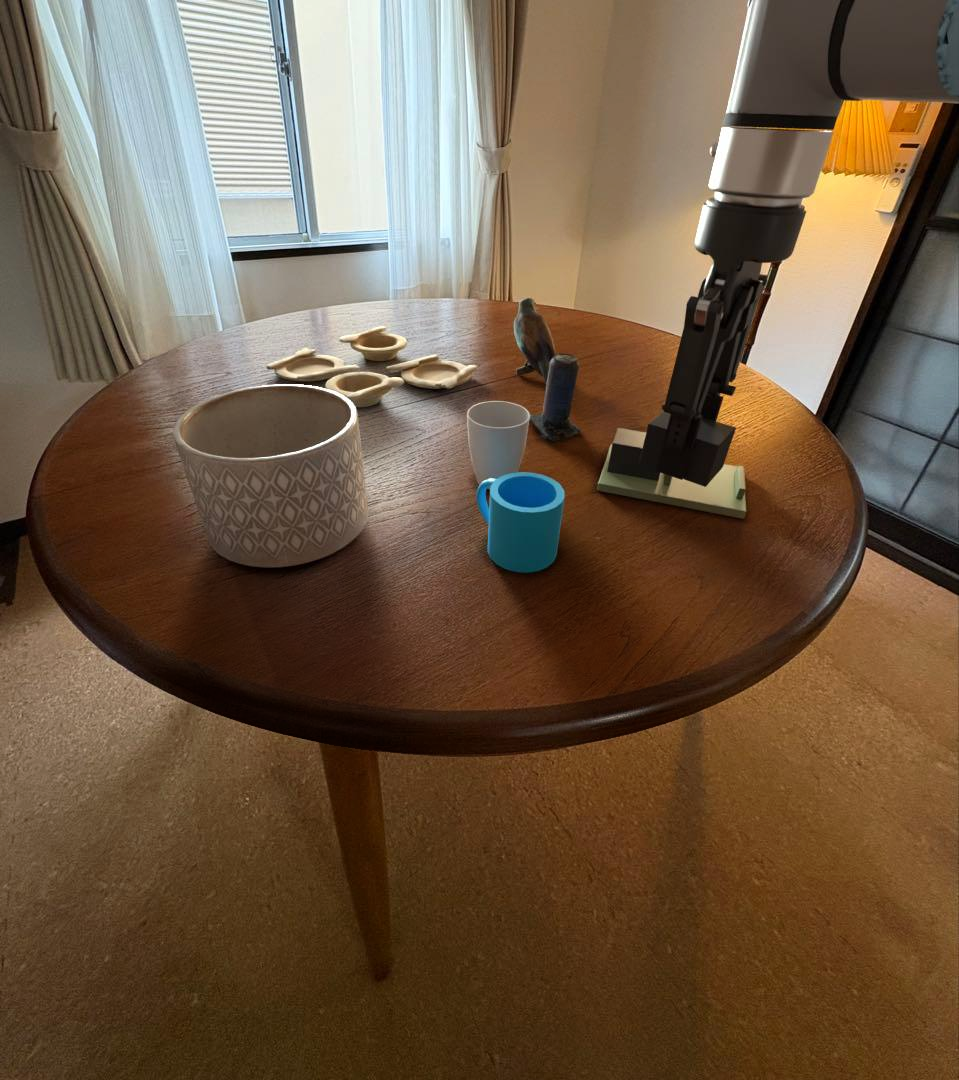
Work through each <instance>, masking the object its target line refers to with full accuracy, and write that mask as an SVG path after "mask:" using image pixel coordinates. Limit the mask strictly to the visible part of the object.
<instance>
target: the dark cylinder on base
mask: <svg viewBox="0 0 959 1080" xmlns="http://www.w3.org/2000/svg"><path fill="white" fill-rule="evenodd" d="M579 369H580V364H579V361H578V356H576V355H573V354H570V353H563V352H562V353H556V354H555V355H554V357H553V358H552V359H551V361H550V365H549V372H548V378H547V385H546V384H545V385H546V386H545V392H544V400H543V406H542V412H541V413H538V414H537V413H536V414H530V419H529V424H532V425H533V426H535V428H536V429H537V431H538V432H539V434H541V435H540V437H541V439H543V440H546V439H547V440H548V441H552V443H553V442H556V441H558V440H561V438H562V436H560V434H559V433H561V434H564V436H565V437H572V436H574V435H575V434H576V435H577V434H580V433H581V429H580V428H579V425H576V424H575V422H573V421H572V420H571V419H570V415H571V411H572V407H573V402H574V397H575V391H576V386H577V379H578V373H579Z"/></svg>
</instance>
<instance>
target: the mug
mask: <svg viewBox="0 0 959 1080" xmlns="http://www.w3.org/2000/svg"><path fill="white" fill-rule="evenodd" d="M489 486H491V487H490V489H489V505H488V502H487V496H486V493H487V490H488V489H487V488H488V487H489ZM565 494H566V493H565V489H564V488H563V487H562V485H561V484H560V482H558V481H556V480H555V479H554V478H552V477H549V476H546V475H545V474H541V473H537V472H531V471H530V472H529V471H528V472H527V471H518V473H510V474H507V475H504V476H501V477H499V478H498V479H494V478H490V479H488V480H485V481H483V482H482V483H481V484H480V485H478V487H477V489H476V495H475V497H476V504H477V507H478V510H479V512H480V514H481V516H482V518H483V519H484V521H485V522H486V523H487V524H488V529H487V530H488V531H487V554H488V555H489V558H490V559H491V560H492V561H493V563H495V564H496V565H497V566H499V567H501V568H503V569H505V570H508V571H511V572H515V573H526V574H528V573H534V572H535V573H536V572H539V571H542V570H544V569H547V568H548V567H549V566H551V565H552V564H553V563H554V562H555V561H556V557H557V555H558V548H559V540H560V535H561V534H560V533H561V526H562V520H563V513H564V512H563V511H564V505H565V497H566V495H565Z"/></svg>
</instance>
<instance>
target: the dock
mask: <svg viewBox="0 0 959 1080" xmlns="http://www.w3.org/2000/svg"><path fill="white" fill-rule="evenodd" d="M645 436H646V431H640V430H633V429H628V428H621V427H617V428H616V431H615V435H614V437H613V440H612V444H610V446H609V448H608V452H607V455H606V458H605V461H604V464H603V467H602V470H601V474H600V475H599V476H600V477H599V480H598V482H597V487H596V491H599V492H603V493H608V494H613V495H619V496H623V497H629V498H634V499H639V500H645V501H650V502H655V503H659V504H665V505H670V506H674V507H675V506H676V507H680V508H685V509H690V510H695V511H699V512H700V511H701V512H705V513H712V514H716V515H722V516H727V517H730V518H731V517H732V518H736V519H742V520H743V519H745V517H746V513H747V503H746V491H747V488H746V475H745V474H746V473H745V466H744V465H732V464H725V463H724V465H723V468H722V469H721V470H720V471H719V472H718V473H717V474H716V476H715V477H714V478H713V479H712V480H711V481H710V483H709V484H708V485H707V486H706V487H704V486H701V485H698V484H695V483H693V482H690V481H687V480H684V479H683V480H680V479H678V478H675V477H672V476H669V475H666V474H663V473H661V472H658V471H656V469H653V468H650V467H647V466H645V465H642V464H639V462H640V457H641V453H642V449H643V444H644V440H645Z"/></svg>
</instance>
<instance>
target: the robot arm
mask: <svg viewBox="0 0 959 1080" xmlns="http://www.w3.org/2000/svg"><path fill="white" fill-rule="evenodd" d="M746 7H747V12H746V17H745V22H744V27H743V31H742V37H741V42H740V47H739V50H738V51H739V52H738V56H737V61H736V65H735V71H734V75H733V80H732V85H731V89H730V95H729V97H728V103H727V107H726V111H725V115H724V117H723V121H722V127H721V131H720V135H719V141H717V142H714V143H712V145H711V147H710V148H709V154H710V156H711V158H714V161H713V164H712V170H711V173H710V177H709V182H708V188H709V190H710V191H712V192H713V193H714V195H713V197H709V198H707V199H706V202H704V203H703V204H702V208H701V214H700V217H699V222H698V225H697V230H696V234H695V238H694V243H693V244H694V249H695V250H696V251H697V252H698V253H699V254H702V255H704V256H709V257H710V258H711V259H712V265H711V266H710V269H709V271H708V274H707V277H706V278H704V279H703V280H702V282H701V284H700V286H699V287H700V288H699V290H698V293H697V296H695V295H694V296H693V295H691V296H690V297H689V298H688V300H687V301H686V304H685V305H686V307H685V316H684V322H683V323H684V324H683V329H682V333H681V338H680V341H679V345H678V349H677V353H676V357H675V361H674V365H673V370H672V373H671V378H670V382H669V384H668V385H669V386H668V390H667V394H666V397H665V401H664V403H662V405H661V410H662V411H664V412H666V413H669V414H671V415H670V419H669V423H668V427H667V431H666V435H665V439H664V443H663V446H662V450H661V454H660V458H659V462H658V466H657V470H656V471H658V472H661V473H663V474H666V475H669V476H672V477H675V478H678V479H680V480H683V479H684V478H685V475H686V472H687V469H688V465H689V462H690V458H691V455H692V451H693V448H694V445H695V441H696V438H697V435H698V431H699V428H700V425H701V421H702V418H706V419H709V420H712V421H716V422H717V420H718V417H719V413H720V411H721V407H722V404H723V400H724V396H722V395H725V396H728V397H732V396H733V395H734V393H735V391H736V389H737V386H735V385H731V384H732V383H733V382H734V381H735V379H736V377H737V372H738V370H739V367H740V363H741V359H742V357H743V353H744V350H745V347H746V344H747V341H748V337H749V333H750V331H751V328H752V324H753V321H754V318H755V315H756V311H757V308H758V306H759V302H760V300H761V297H762V294H763V292H764V289H765V286H767V283H768V274H764V273H761V271H762V267H763V264H771V263H779V262H783V261H786V260H787V259H789V258H790V257H791V256H792V255H793V253H794V251H795V248H796V245H797V242H798V238H799V235H800V232H801V229H802V226H803V223H804V221H805V217H806V214H807V210H806V209H805V208H806V207H805V205H803V204H802V203H803V199H807V198H809V197H811V196H812V195H813V194H814V193H815V190H816V188H817V184H818V181H819V178H820V175H821V173H822V172H821V171H822V169H823V165H824V162H825V160H826V156H827V154H828V150H829V147H830V145H831V141H832V138H833V135H834V131H833V130H835V126H836V123H837V120H838V117H839V116H840V113H841V110H842V108H843V105H844V102H845V101H846V102H847V101H848V102H860V101H883V102H885V101H887V102H914V103H915V102H917V103H919V102H920V103H947V104H959V0H748V2H747V5H746ZM730 383H731V384H730ZM721 394H722V395H721Z"/></svg>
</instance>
